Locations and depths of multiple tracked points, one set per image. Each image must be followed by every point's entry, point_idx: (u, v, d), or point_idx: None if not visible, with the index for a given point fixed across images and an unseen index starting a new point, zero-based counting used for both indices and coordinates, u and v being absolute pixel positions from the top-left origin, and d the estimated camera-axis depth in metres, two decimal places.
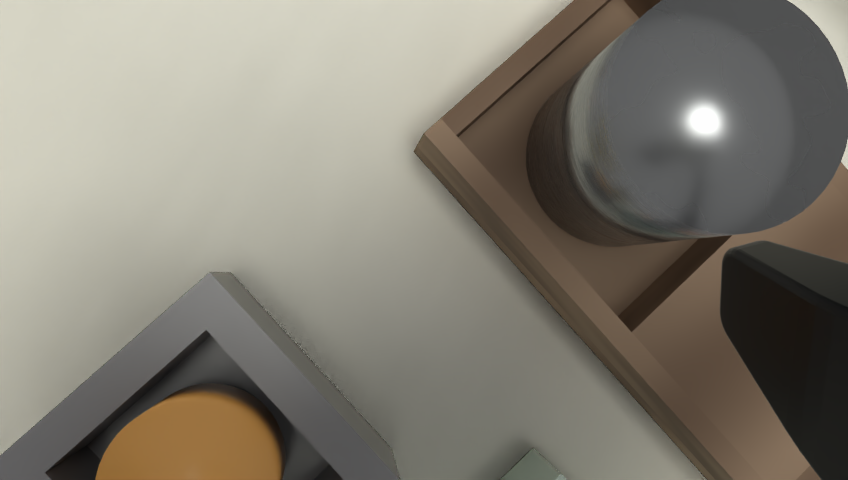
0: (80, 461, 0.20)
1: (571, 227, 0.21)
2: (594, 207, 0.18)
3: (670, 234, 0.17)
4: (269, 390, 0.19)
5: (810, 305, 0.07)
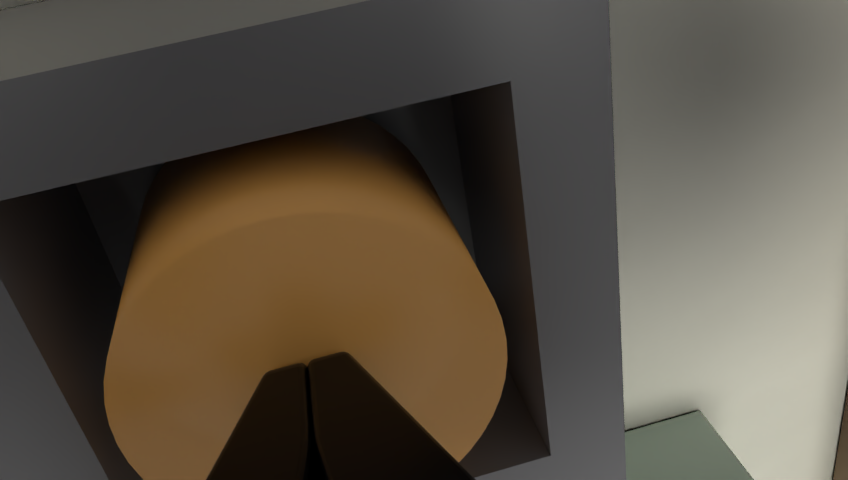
0: None
1: None
2: None
3: None
4: (541, 266, 0.08)
5: (316, 442, 0.06)
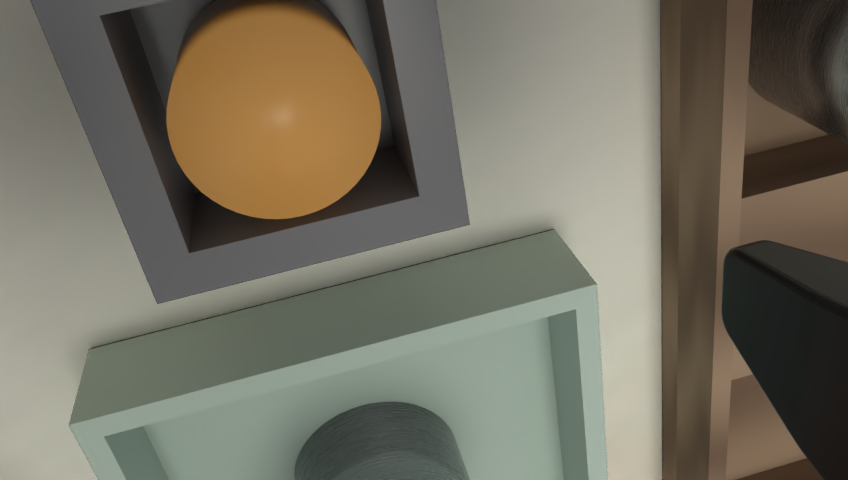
0: None
1: (758, 62, 0.19)
2: (843, 83, 0.16)
3: None
4: (402, 67, 0.15)
5: (811, 305, 0.07)
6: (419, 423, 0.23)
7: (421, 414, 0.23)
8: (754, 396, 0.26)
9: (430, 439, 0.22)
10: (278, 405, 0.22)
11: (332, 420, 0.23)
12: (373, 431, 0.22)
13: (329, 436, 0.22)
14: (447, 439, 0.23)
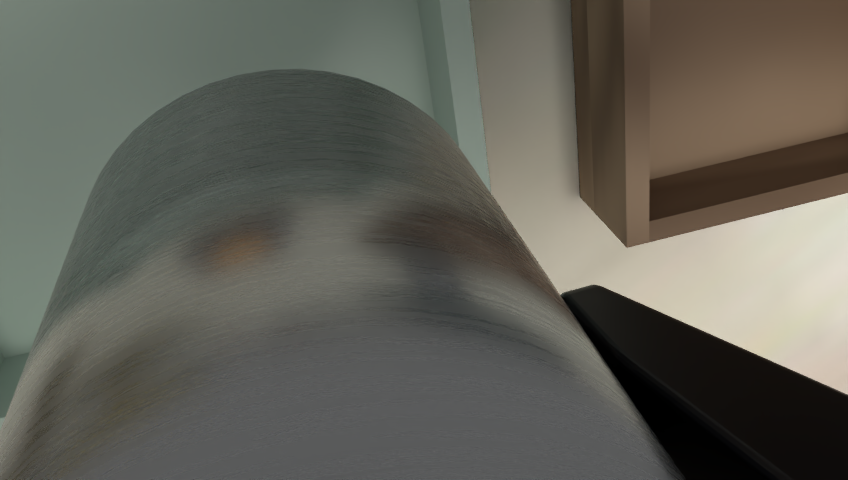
0: None
1: None
2: None
3: None
4: None
5: (614, 359, 0.07)
6: (395, 111, 0.08)
7: (400, 104, 0.09)
8: (694, 30, 0.19)
9: (423, 141, 0.08)
10: None
11: (160, 110, 0.09)
12: (259, 106, 0.08)
13: (143, 137, 0.08)
14: (469, 166, 0.09)
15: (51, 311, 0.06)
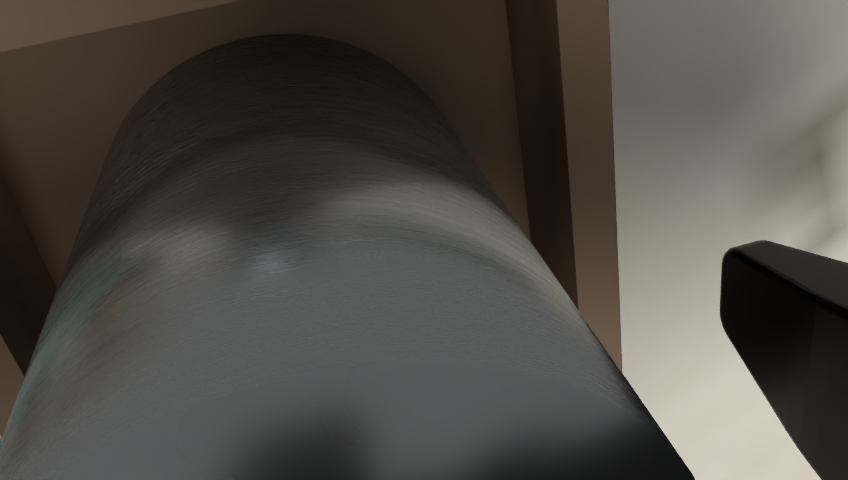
0: None
1: None
2: None
3: None
4: None
5: (810, 305, 0.07)
6: (377, 69, 0.10)
7: (383, 65, 0.10)
8: None
9: (401, 93, 0.09)
10: None
11: (173, 70, 0.10)
12: (259, 62, 0.09)
13: (159, 91, 0.09)
14: (443, 118, 0.10)
15: (86, 224, 0.07)
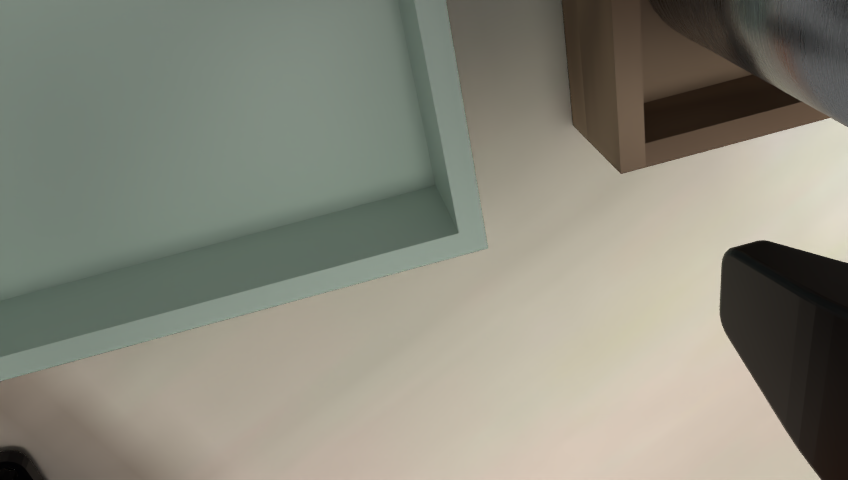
0: None
1: None
2: None
3: None
4: None
5: (810, 305, 0.07)
6: None
7: None
8: None
9: None
10: None
11: None
12: None
13: None
14: None
15: None
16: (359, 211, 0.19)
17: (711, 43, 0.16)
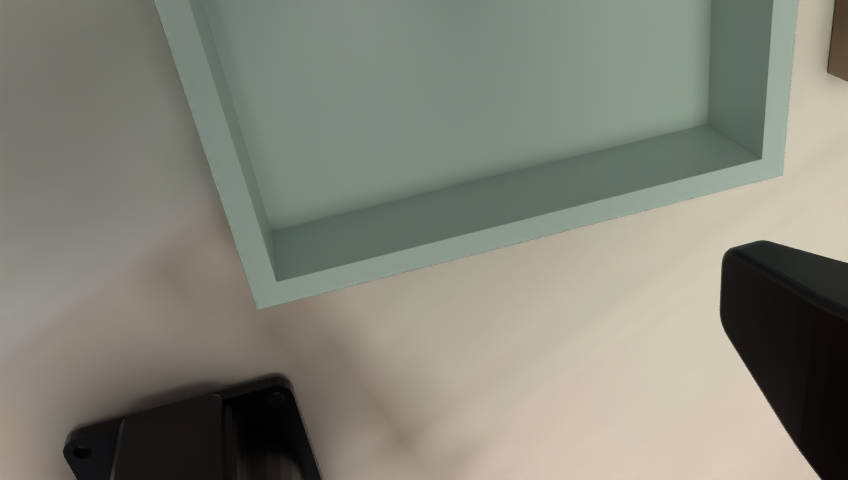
0: None
1: None
2: None
3: None
4: None
5: (810, 305, 0.07)
6: None
7: None
8: None
9: None
10: None
11: None
12: None
13: None
14: None
15: None
16: (643, 145, 0.20)
17: None
